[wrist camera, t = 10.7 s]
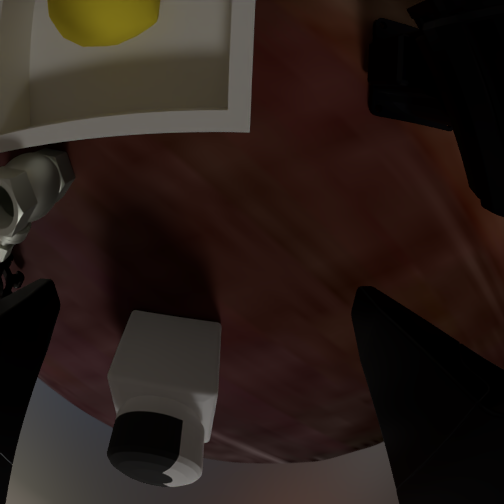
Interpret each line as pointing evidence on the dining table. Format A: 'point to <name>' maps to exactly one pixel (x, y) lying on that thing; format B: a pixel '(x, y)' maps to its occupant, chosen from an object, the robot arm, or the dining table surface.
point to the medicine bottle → (164, 397)
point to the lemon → (102, 20)
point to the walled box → (126, 75)
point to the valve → (28, 201)
